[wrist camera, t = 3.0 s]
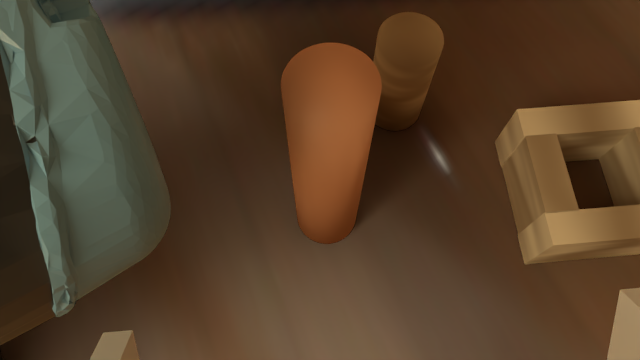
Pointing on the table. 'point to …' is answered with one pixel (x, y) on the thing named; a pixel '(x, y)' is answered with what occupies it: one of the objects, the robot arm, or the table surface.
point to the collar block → (555, 186)
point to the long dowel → (329, 134)
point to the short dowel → (405, 67)
